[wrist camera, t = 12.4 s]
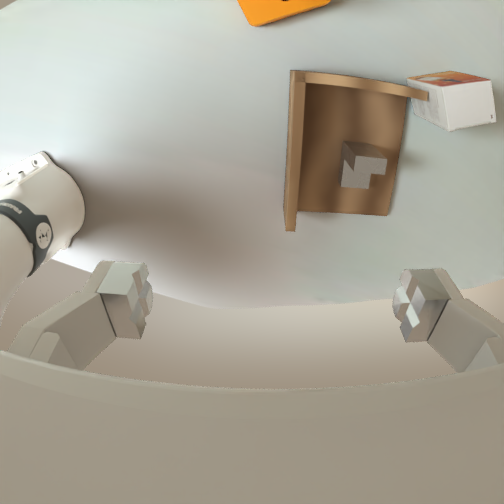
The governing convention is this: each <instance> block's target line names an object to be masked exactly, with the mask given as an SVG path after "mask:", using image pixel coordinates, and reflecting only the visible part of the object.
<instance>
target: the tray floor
mask: <svg viewBox="0 0 504 504" xmlns="http://www.w3.org/2000/svg"><path fill="white" fill-rule="evenodd" d="M295 71H297V70H295ZM308 72H310V71H308ZM319 73H321V72H319ZM329 74H330V73H329ZM338 75H339V74H338ZM346 76H347V75H346ZM353 77H354V76H353ZM360 78H361V77H360ZM366 79H367V78H366ZM290 80H291V70H290ZM372 80H373V79H372ZM378 81H379V80H378ZM384 82H385V81H384ZM389 83H390V82H389ZM394 84H395V83H394ZM399 85H400V84H399ZM404 86H405V85H404ZM406 103H407V97H405V96H401V95H395V94H390V93H384V92H379V91H373V90H366V89H359V88H352V87H344V86H336V85H327V84H316V83H306V84H305V104H304V121H303V137H302V152H301V166H300V179H299V192H298V204H297V211H311V212H330V213H348V214H364V215H379V216H387V213H388V209H389V204H390V200H391V195H392V190H393V185H394V180H395V175H396V169H397V164H398V158H399V152H400V146H401V140H402V133H403V126H404V119H405V111H406ZM289 105H290V91H289ZM288 127H289V115H288ZM343 141H351V142H360V143H369V144H371V145H372V146H374V147H375V148H376V149H377V150H378V151H379V152H380V153H381V154H382V155H383V156H385V157H386V158H387V165H386V171H385V175H381V174H371V176H370V183H369V188H368V189H362V188H349V187H341V186H340V184H339V182H338V177H339V169H340V161H341V152H342V143H343ZM287 147H288V136H287ZM286 165H287V156H286ZM285 182H286V174H285ZM284 199H285V190H284ZM283 208H284V206H283Z"/></svg>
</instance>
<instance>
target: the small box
mask: <svg viewBox="0 0 504 504" xmlns="http://www.w3.org/2000/svg"><path fill="white" fill-rule="evenodd" d="M406 80H407V84H408V86H409V87H412V88H416V89H420V90H423V91H427V92H428V96H427V101H424V100H420V99H415V98H411V101H412V106H413V110H414V114H415V115H417V116H419V117H421V118H423V119H425V120H427V121H429V122H431V123H433V124H435V125H437V126H439V127H441V128H443V129H445V130H446V131H448V132H451V131H455V130H458V129H463V128H467V127H472V126H477V125H483V124H488V123H496V112H495V104H494V97H493V90H492V84H491V80H489V79H485V78H481V77H477V76H472V75H468V74H464V73H459V72H453V71H447V72H441V73H435V74H428V75H421V76H415V77H409V78H406Z"/></svg>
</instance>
